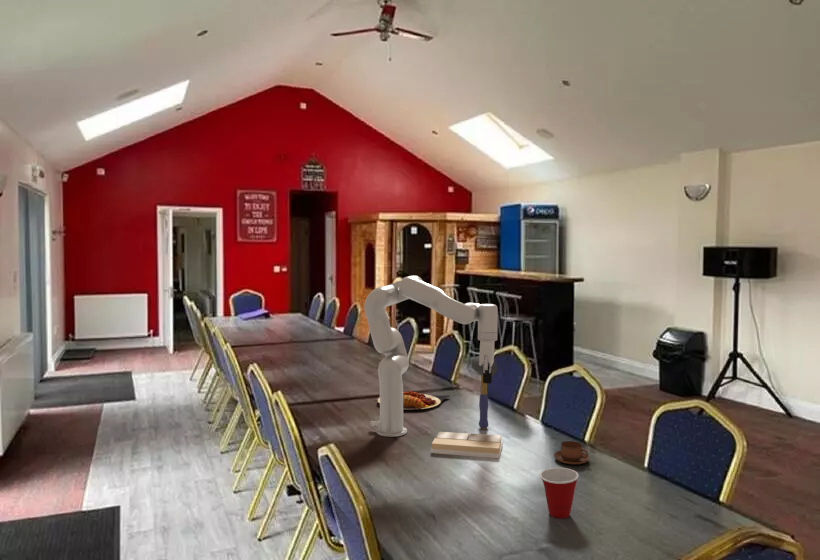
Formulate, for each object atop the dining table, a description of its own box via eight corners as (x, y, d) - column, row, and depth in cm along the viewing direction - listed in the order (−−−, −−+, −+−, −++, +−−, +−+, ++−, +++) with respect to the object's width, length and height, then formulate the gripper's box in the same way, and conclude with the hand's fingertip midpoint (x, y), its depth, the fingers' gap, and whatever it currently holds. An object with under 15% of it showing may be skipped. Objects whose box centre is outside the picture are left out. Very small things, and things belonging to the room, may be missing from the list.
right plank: (468, 444, 234) (468, 439, 233) (470, 438, 240) (470, 433, 240) (499, 447, 231) (499, 442, 231) (501, 440, 238) (501, 435, 237)
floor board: (431, 453, 230) (431, 443, 229) (438, 441, 243) (438, 432, 243) (499, 458, 224) (499, 448, 224) (502, 445, 238) (502, 436, 237)
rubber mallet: (498, 432, 255) (498, 359, 253) (481, 433, 253) (481, 360, 251) (486, 423, 267) (486, 354, 265) (469, 424, 265) (470, 355, 263)
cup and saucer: (589, 457, 225) (589, 441, 225) (587, 469, 214) (588, 451, 213) (555, 454, 229) (556, 437, 229) (552, 465, 218) (552, 447, 217)
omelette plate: (456, 398, 308) (456, 384, 307) (419, 418, 279) (418, 403, 278) (403, 391, 325) (403, 378, 324) (363, 410, 295) (362, 395, 295)
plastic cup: (534, 507, 183) (535, 467, 182) (570, 505, 184) (571, 465, 183) (545, 523, 172) (546, 481, 171) (583, 522, 173) (584, 480, 172)
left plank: (436, 442, 236) (436, 437, 236) (439, 436, 243) (439, 431, 243) (466, 444, 234) (466, 439, 233) (469, 438, 240) (469, 433, 240)
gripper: (480, 332, 249) (479, 378, 250) (475, 338, 234) (475, 386, 236) (499, 333, 247) (498, 379, 248) (495, 339, 233) (495, 387, 234)
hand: (487, 382), depth 242 cm, fingers closed
